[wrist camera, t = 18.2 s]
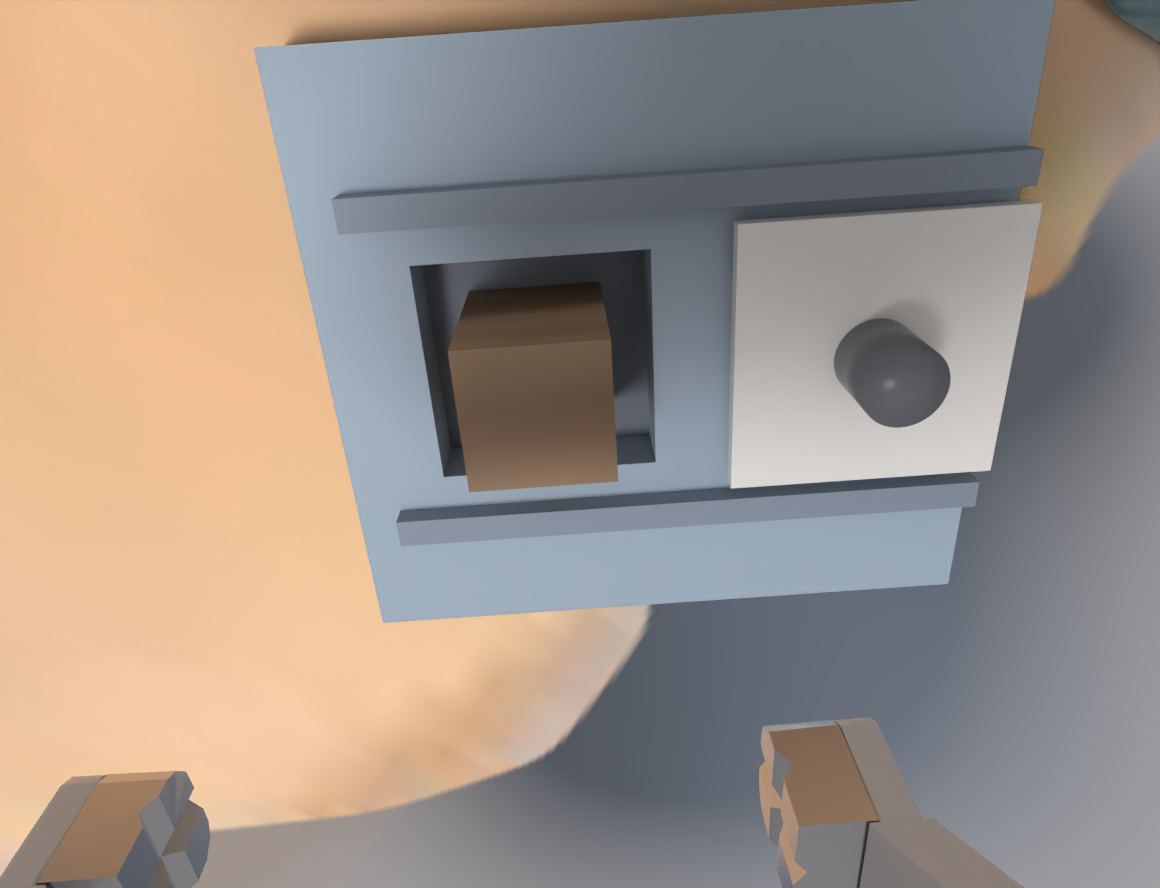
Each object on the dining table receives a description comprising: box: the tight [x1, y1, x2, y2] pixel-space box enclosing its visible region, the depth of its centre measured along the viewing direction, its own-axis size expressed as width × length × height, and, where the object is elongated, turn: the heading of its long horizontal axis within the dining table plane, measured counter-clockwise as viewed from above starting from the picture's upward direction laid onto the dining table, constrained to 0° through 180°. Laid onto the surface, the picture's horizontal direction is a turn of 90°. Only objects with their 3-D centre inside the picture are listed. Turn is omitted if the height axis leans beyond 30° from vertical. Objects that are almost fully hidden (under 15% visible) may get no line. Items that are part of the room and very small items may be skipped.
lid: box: [727, 200, 1043, 489], centre depth 24 cm, size 9×9×3 cm
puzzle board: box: [254, 0, 1055, 623], centre depth 27 cm, size 20×22×3 cm
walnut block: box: [448, 282, 618, 492], centre depth 25 cm, size 4×4×6 cm
